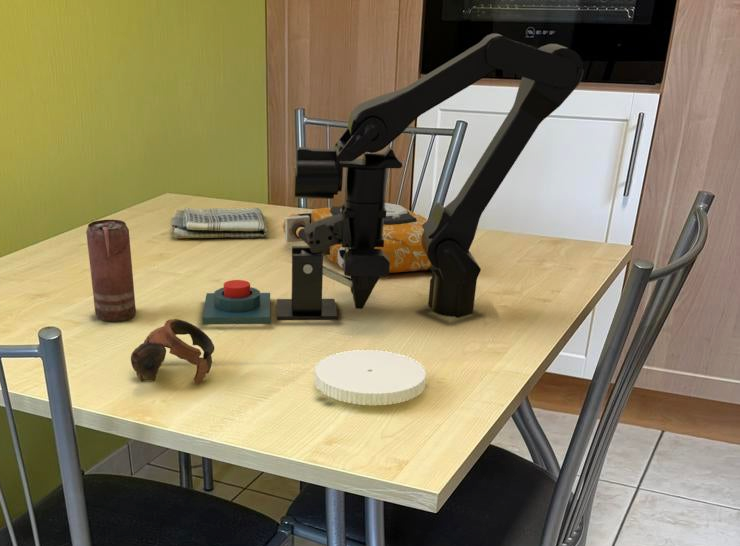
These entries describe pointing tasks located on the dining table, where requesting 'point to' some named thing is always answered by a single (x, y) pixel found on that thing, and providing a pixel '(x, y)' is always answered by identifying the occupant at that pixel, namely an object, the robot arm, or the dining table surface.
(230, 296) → the red button
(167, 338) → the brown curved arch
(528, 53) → the robot arm
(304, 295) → the lever bracket
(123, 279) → the can
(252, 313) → the button housing
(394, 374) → the plastic lid
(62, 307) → the dining table surface
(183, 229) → the dish towel
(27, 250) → the dining table surface
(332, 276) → the lever handle
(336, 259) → the device
